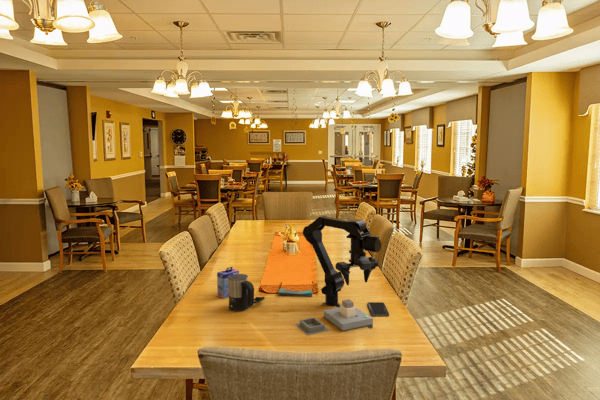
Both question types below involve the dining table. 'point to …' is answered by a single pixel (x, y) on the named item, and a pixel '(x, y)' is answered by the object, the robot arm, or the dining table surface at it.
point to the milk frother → (241, 293)
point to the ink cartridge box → (224, 282)
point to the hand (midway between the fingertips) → (356, 283)
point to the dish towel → (294, 293)
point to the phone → (378, 309)
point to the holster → (311, 326)
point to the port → (348, 320)
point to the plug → (347, 309)
